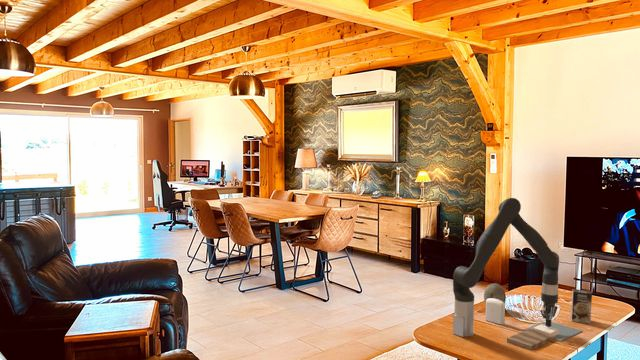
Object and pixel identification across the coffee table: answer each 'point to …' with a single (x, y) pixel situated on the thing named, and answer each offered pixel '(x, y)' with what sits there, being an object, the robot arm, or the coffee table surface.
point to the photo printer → (495, 311)
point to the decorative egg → (494, 292)
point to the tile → (546, 330)
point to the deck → (529, 339)
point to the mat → (560, 331)
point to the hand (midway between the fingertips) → (548, 326)
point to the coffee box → (581, 306)
